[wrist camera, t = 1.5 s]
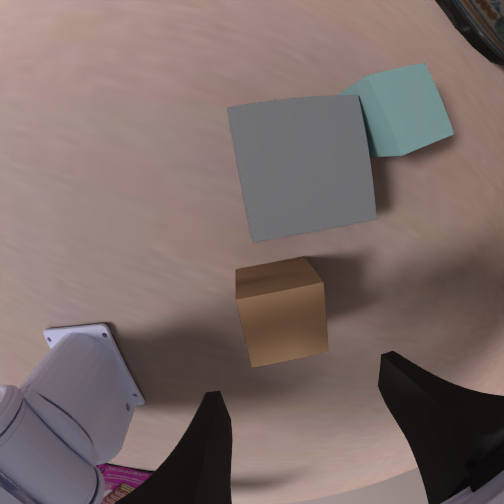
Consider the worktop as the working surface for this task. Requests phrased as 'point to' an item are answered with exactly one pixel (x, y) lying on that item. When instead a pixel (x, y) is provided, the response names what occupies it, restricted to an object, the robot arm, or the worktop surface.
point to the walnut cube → (282, 311)
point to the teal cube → (401, 110)
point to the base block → (302, 164)
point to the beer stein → (479, 24)
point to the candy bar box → (120, 481)
